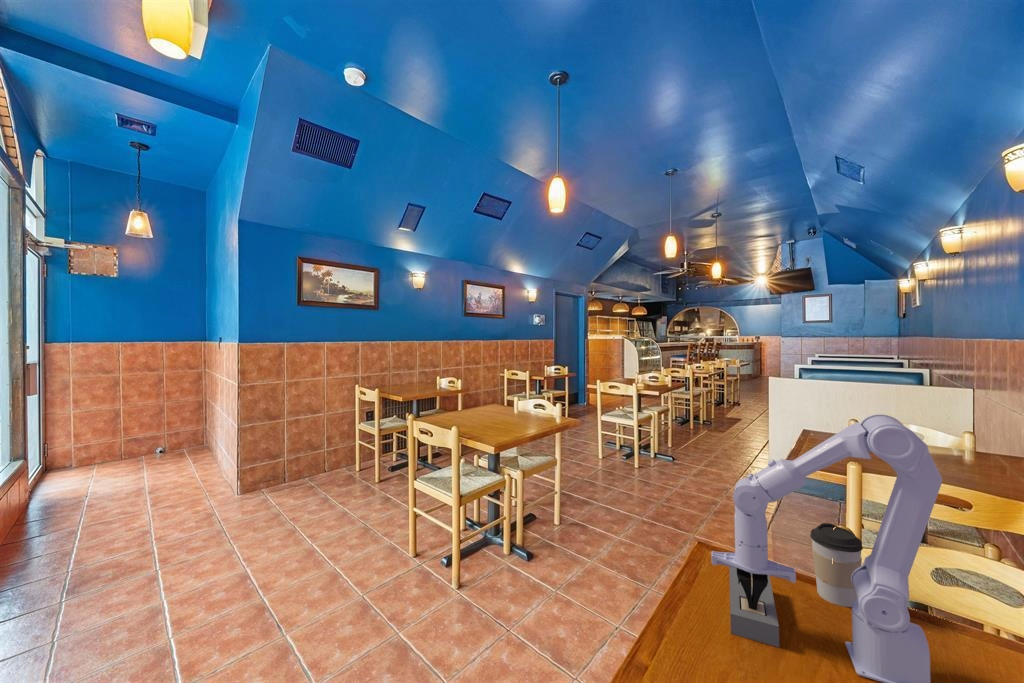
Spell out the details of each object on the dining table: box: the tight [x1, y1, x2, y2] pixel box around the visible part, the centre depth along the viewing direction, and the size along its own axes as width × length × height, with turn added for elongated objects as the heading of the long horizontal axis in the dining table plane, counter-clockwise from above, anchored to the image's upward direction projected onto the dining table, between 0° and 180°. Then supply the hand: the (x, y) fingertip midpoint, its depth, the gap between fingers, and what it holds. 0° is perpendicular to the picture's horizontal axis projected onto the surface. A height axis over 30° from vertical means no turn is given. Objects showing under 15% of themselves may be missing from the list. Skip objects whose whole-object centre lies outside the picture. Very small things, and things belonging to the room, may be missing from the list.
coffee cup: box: [809, 522, 864, 608], centre depth 88 cm, size 9×9×15 cm
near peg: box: [741, 597, 765, 616], centre depth 80 cm, size 4×4×4 cm
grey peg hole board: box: [728, 566, 780, 648], centre depth 84 cm, size 8×18×4 cm, turn 152°
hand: (752, 606), depth 80 cm, fingers closed, pressing on near peg
